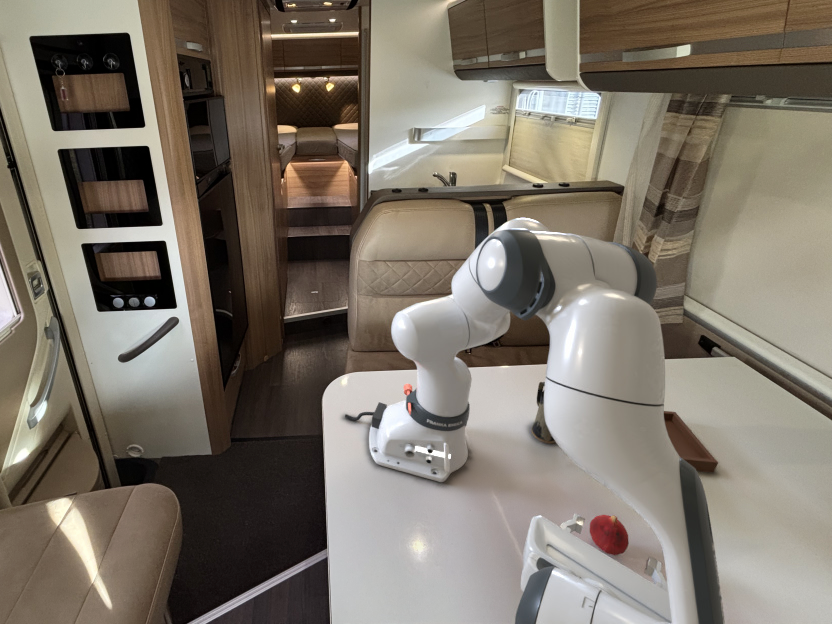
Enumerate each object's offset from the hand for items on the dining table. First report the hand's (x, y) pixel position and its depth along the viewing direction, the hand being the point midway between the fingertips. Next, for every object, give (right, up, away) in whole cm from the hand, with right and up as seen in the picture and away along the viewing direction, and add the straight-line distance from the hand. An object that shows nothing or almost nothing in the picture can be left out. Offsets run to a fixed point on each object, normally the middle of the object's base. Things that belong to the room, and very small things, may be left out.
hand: (614, 539), depth 63 cm
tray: (+34, -3, +37) cm, 50 cm away
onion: (+8, -12, +15) cm, 21 cm away
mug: (+10, -2, +40) cm, 41 cm away
